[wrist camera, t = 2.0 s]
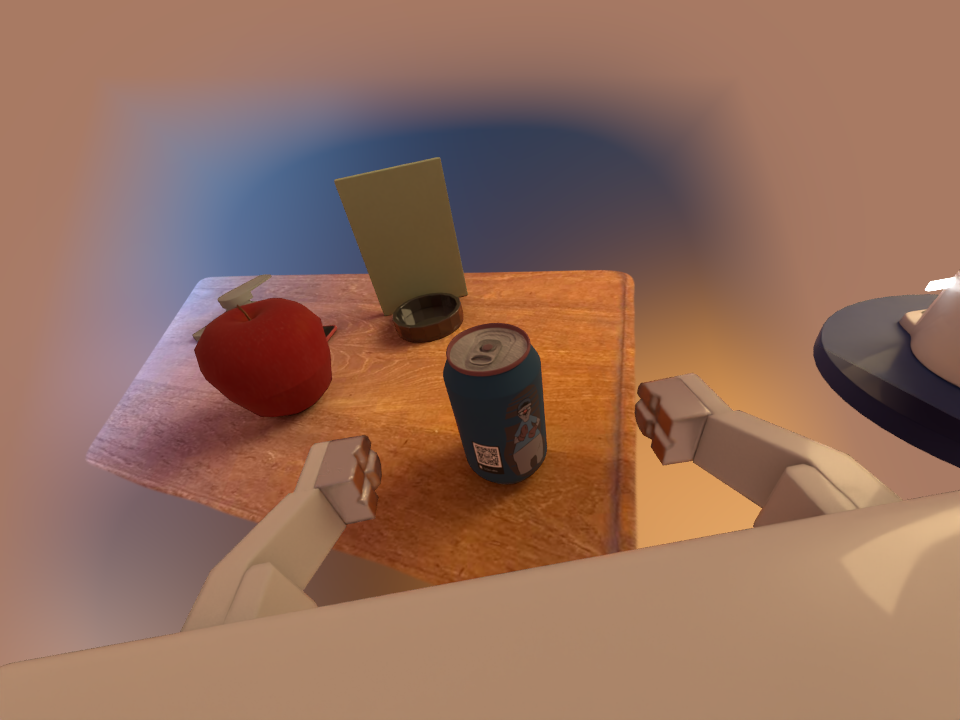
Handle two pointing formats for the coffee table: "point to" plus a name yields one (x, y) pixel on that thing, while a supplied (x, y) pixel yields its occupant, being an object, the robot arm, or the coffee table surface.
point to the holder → (428, 317)
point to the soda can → (497, 401)
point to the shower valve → (237, 297)
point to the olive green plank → (404, 231)
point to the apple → (267, 357)
